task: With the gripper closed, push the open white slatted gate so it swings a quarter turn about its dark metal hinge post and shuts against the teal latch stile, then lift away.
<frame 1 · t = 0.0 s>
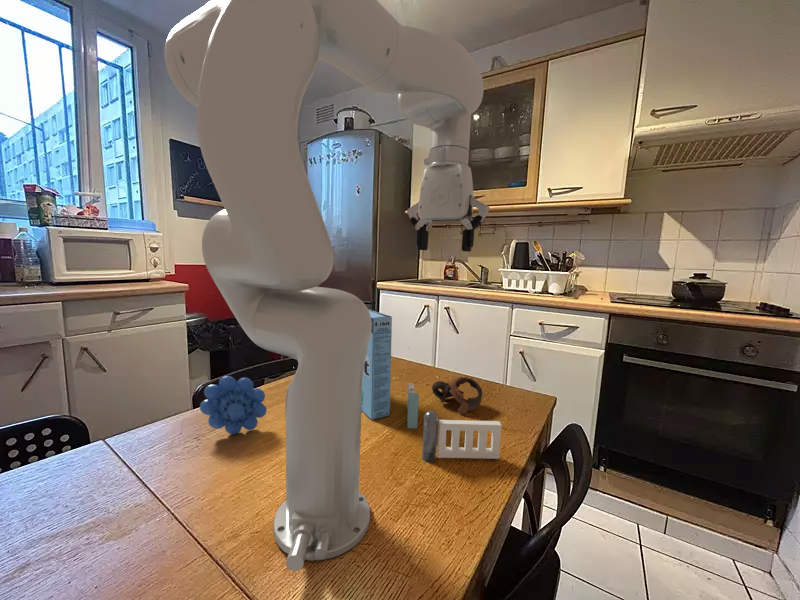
hand: (443, 250, 69), 37 cm above the table, tool pointing down, fingers open, 9 cm apart
blue flower: (235, 436, 66), on the table
hinge post: (428, 458, 62), on the table
gate: (469, 440, 61), point 4 cm above the table, hinge at -90.0°
latch stile: (412, 425, 73), on the table
gum box: (361, 402, 84), on the table
fence panel: (410, 415, 78), on the table
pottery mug: (455, 406, 84), on the table
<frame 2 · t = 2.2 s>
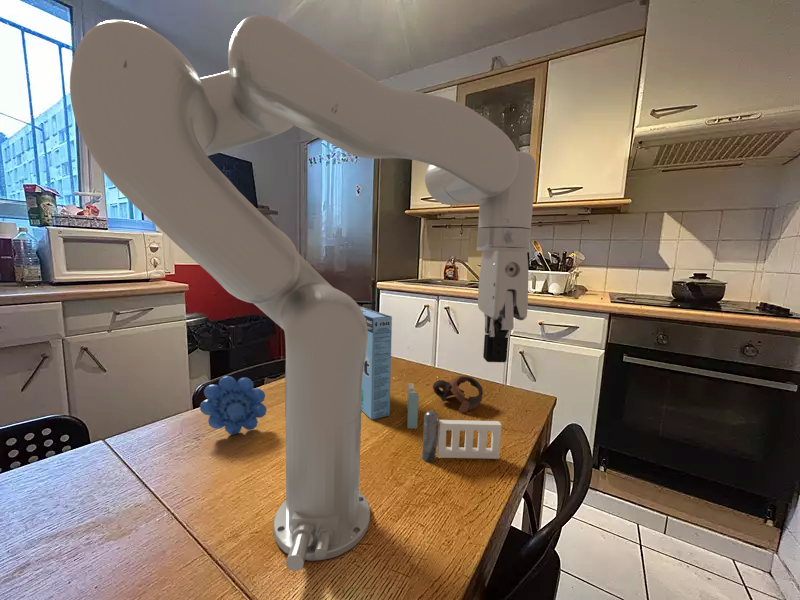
hand: (494, 360, 54), 20 cm above the table, tool pointing down, fingers closed
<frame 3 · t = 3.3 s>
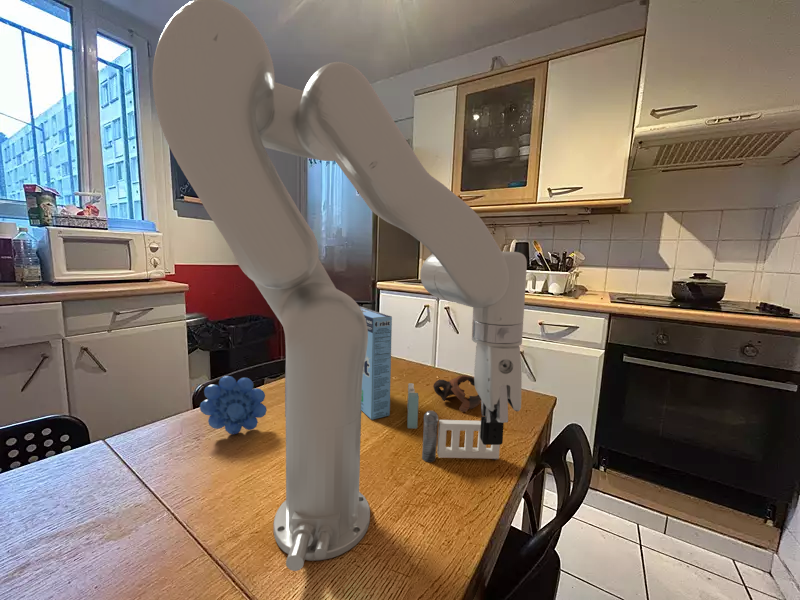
hand: (491, 441, 56), 7 cm above the table, tool pointing down, fingers closed
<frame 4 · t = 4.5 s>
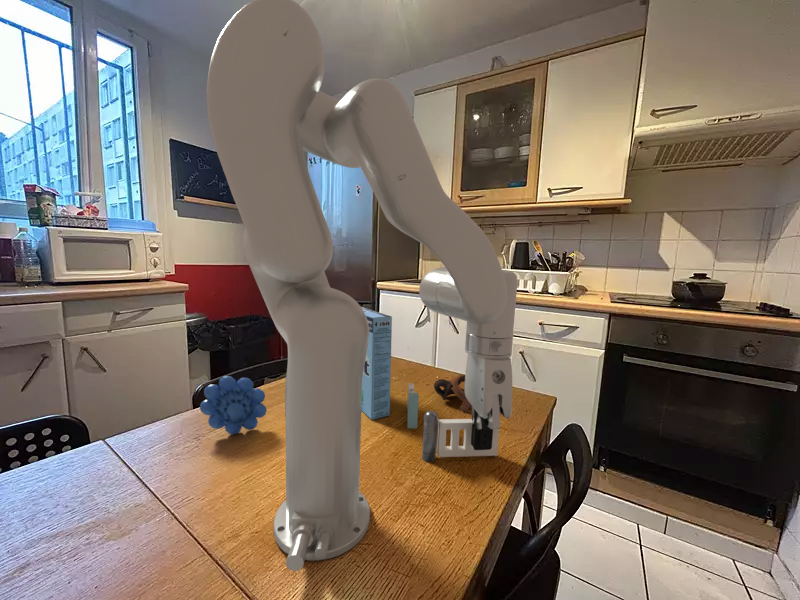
hand: (481, 447, 59), 4 cm above the table, tool pointing down, fingers closed
gate: (468, 438, 62), point 4 cm above the table, hinge at -85.4°, touching gripper
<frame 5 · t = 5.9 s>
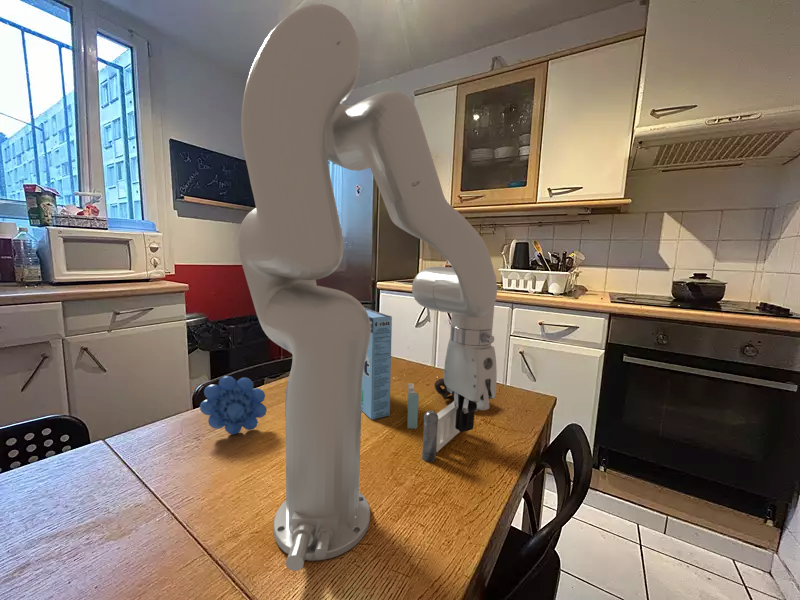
hand: (464, 428, 66), 3 cm above the table, tool pointing down, fingers closed
gate: (448, 424, 67), point 4 cm above the table, hinge at -37.1°, touching gripper
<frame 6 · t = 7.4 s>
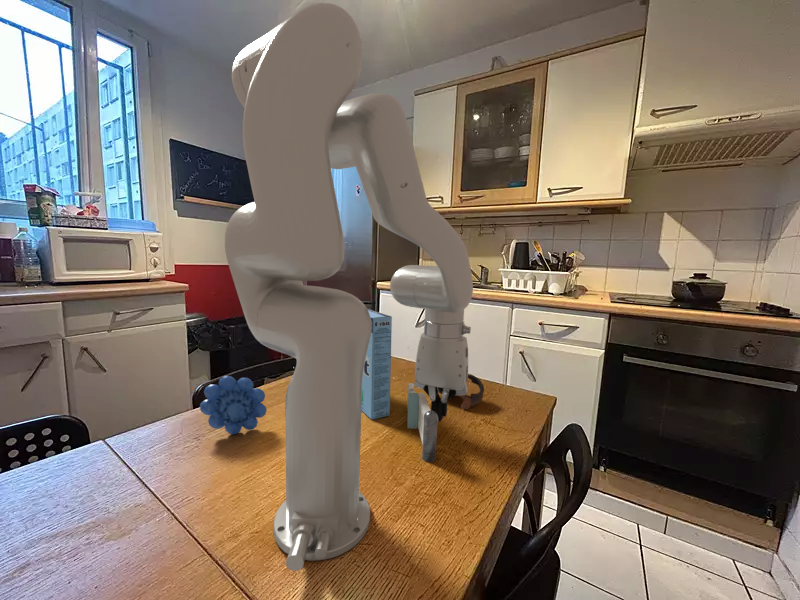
hand: (438, 418, 69), 4 cm above the table, tool pointing down, fingers closed
gate: (424, 420, 68), point 4 cm above the table, hinge at 2.8°, touching gripper, latch stile
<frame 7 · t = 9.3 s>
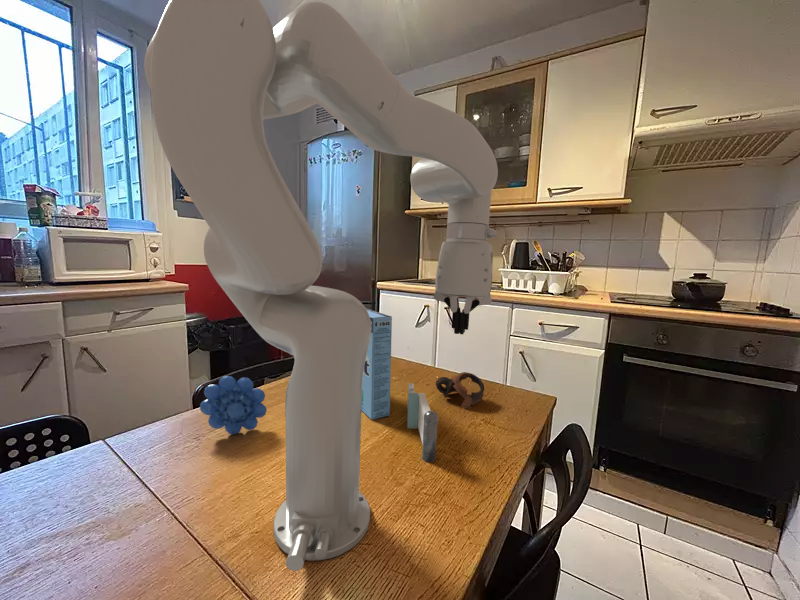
hand: (459, 332, 65), 22 cm above the table, tool pointing down, fingers closed
gate: (424, 420, 68), point 4 cm above the table, hinge at 2.8°
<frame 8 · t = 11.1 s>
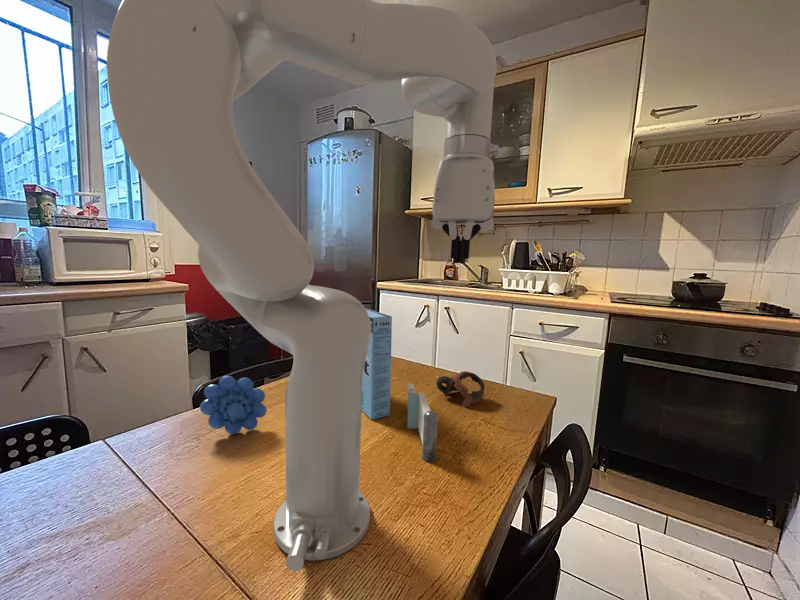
hand: (459, 262, 60), 35 cm above the table, tool pointing down, fingers closed
at the end: gate at +3° (first picture: -90°); gate touching nothing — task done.
